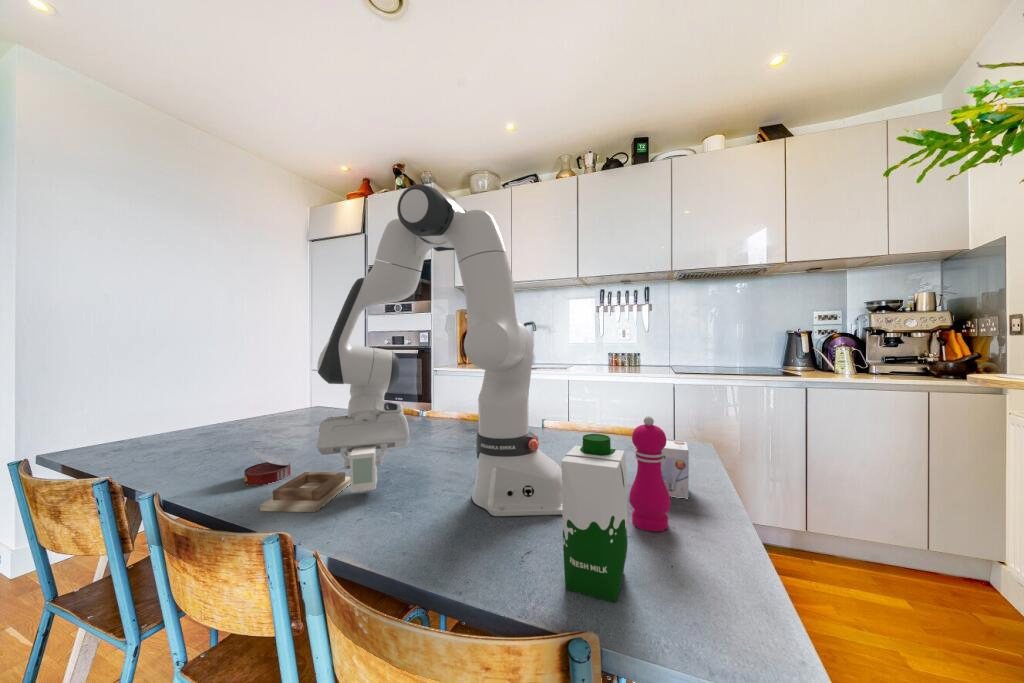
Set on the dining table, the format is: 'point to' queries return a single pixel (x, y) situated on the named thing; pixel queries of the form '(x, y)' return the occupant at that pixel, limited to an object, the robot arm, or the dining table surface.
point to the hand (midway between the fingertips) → (363, 466)
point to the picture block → (363, 468)
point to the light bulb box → (676, 468)
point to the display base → (307, 492)
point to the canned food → (266, 469)
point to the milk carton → (594, 517)
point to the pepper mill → (649, 479)
